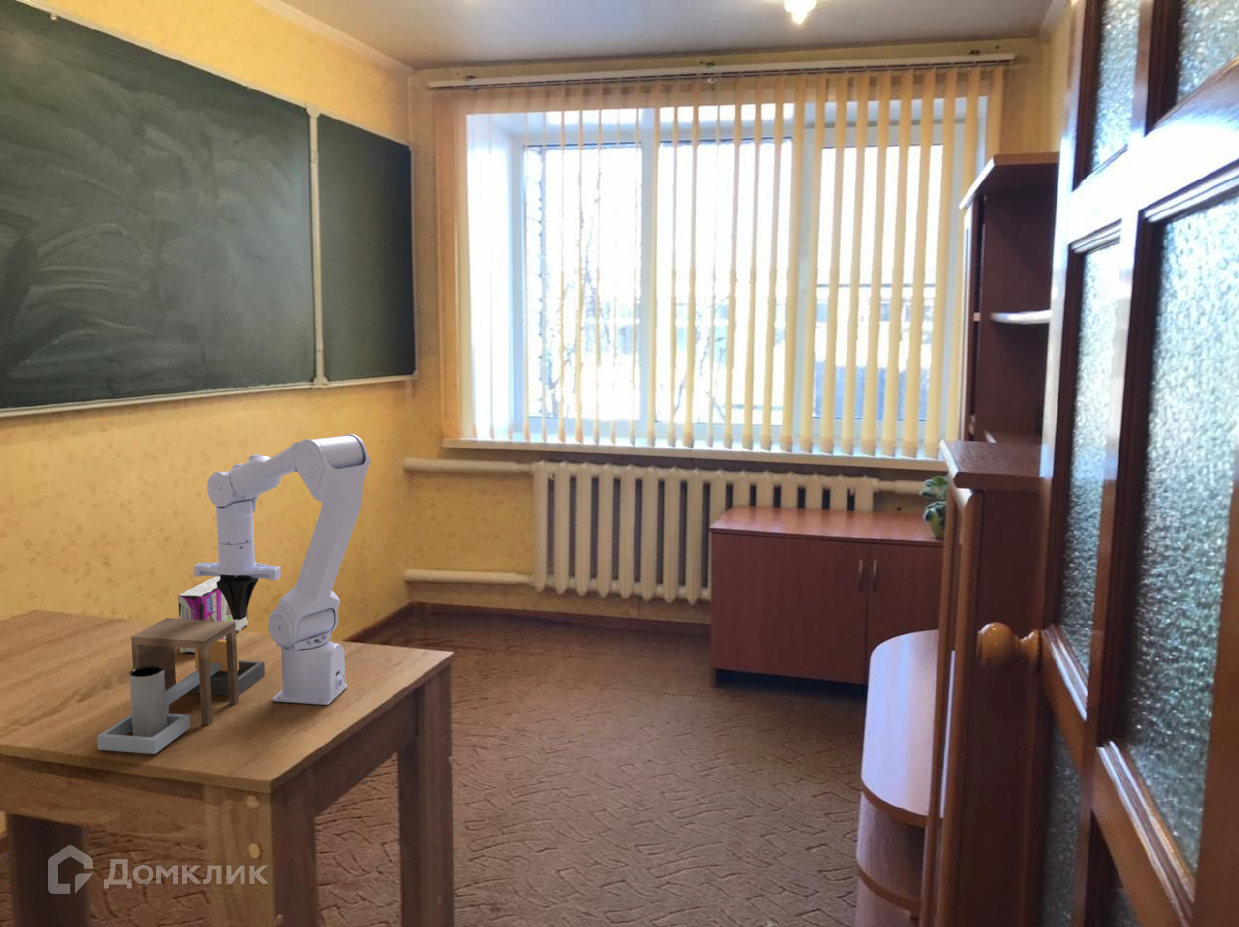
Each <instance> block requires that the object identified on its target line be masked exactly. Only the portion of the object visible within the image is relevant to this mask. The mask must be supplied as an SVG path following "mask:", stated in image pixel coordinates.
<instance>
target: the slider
mask: <svg viewBox="0 0 1239 927" xmlns="http://www.w3.org/2000/svg"><path fill="white" fill-rule="evenodd" d="M236 645H237V668H238V670H239V660H240V659H239V640H237V639H236ZM209 662H210V676H212V675H213V674H215V673H216V672H218V671H228V668H227V646H226V640H223V639H220V640H218V641H217V642H215V643H213V644H212V645H210V646H209ZM194 663H195V664H194V666H195V667H194V668H195V671H196V670H197V671H196V672H195V671H193V672H194V673H193V672H192V673H193V674H192V673H190V674H191V675H190V674H189V675H190V676H189V675H187V676H188V677H187V676H185V678H183V679H182V680H181V681H178V682H176V685H174V686H173V687H171V688H170V689H168V690H166V691H165V692H166V710H167V727H166V728H165V729H164V730H162V731H161V732H159V733H158V734H157V735H155V736H154V737H140V736H133V735H127V734H129V733H130V732H133V730H132V714H131V713H130V714H128V715H127V716H125V717H124V718H122V719H121V720H119V721H117V722H116V723H114V724H113V725H111V726H110V727H109V728H107V729H105V730H104V731H102V732H101V733H99V734H98V735H96V743H97V744H96V745H97V750H99V751H102V750H104V751H110V752H111V751H113V752H126V753H127V752H128V753H137V754H138V753H139V754H153V755H154V754H155V755H156V754H157V753H158V752H159V751H161V750H163V749H164V748H165V747H166V746H168V745H169V744H171V743H172V742H173V741H175V740H176V739H177V738H178V737H180V736H181V735H183V734H184V733H185V732H186V731H188V730H189V729H190V728H191V721H190V720H191V718H190V717H191V716H190V714H185V713H184V714H183V713H182V714H180V713H170V712H169V705H170V704H172V703H174V702H175V701H176V700H179V698H181V697H182V696H184V695H185V694H188V693H187V692H188V691H190V690H191V689H193V688H194V687H196V686H197V685H199V684H200V679H199V670H198V669H199V659H198V649H196V648H195V653H194Z"/></svg>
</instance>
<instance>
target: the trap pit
mask: <svg viewBox="0 0 1239 927" xmlns="http://www.w3.org/2000/svg"><path fill="white" fill-rule="evenodd" d="M265 669H266V668H265V661H262V660H261V661H259V660H258V661H257V660H246V659H245V660H242V659H239V670H238V691H239V696H240V695H242V694H243V693H244V692H245V691H246V690H248V689H249V688H250V687H252V686H254V684H256V683H257V682H259V681H260V680H261V679H263V678H264V677H265V676H266V670H265ZM197 670H199V669H195V671H193V672H192V673H190V674H189V675H187V676H186V677H188V676H190V675H191V674H193V673H194V672H196V671H197ZM210 682H211V695H219V696H229V691H228V671H218V672H216V673H215V674H213V675H212V676H210ZM188 693H190V694H200V684H199V685H197V686H196V687H194V688H193V689H191V690H190V691H188V692H187V693H186V694H188Z"/></svg>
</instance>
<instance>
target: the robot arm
mask: <svg viewBox="0 0 1239 927" xmlns="http://www.w3.org/2000/svg"><path fill="white" fill-rule="evenodd" d="M371 460H372V459H370V454H369V453H368V450H367V448H366V445H365V443H364V441H363V440H362V438H360V437H359V436H358V435H356V434H353V433H348V434H344V435H340V436H333V437H332V436H331V437H324V438H323V437H322V438H315V439H310V438H306V439H302V440H300V441H298V442H293V443H292V445H291V446H289V447H288V448H286V449H284V450H282V451H280V452H279V453H277V454H275V455H273V456H272V457H271V456H267V455H261V454H260V453H259V454H252V455H249V456H248V461H246V462H244V463H236V464H234V465H233V466H232V469H230V470H229V471H214V472H213V473H212V474H211V475H210V476H209V478H208V480H207V483H206V490H207V496H208V498H209V500H210V502H211V503H212V504H213V505H214V506H215V514H216V517H215V518H216V537H217V552H218V553H217V554H218V555H217V556H218V557H217V558H218V561H217V562H199V563H196V564H195V565H193V573H194V574H193V576H194V577H198V578H199V577H203V576H204V577H216V576H220V581H218V582H217V587H218V588H219V589H220V591H221V592H222V594H223V595H224V597H225V599H226V601H227V603H228V606H229V608H230V611H231V614H232V618H233V620H241V619H243V618H245V617H246V614H247V613H248V608H249V604H250V600H251V597H252V593H253V591H254V589H255V587H256V585H257V583H258V582H259V579H264V580H265V579H267V580H270V581H277V580H278V579H280V578H281V577H282V576H281V575H282V574H281V572H282V571H281V566H277V565H276V566H275V565H270V564H269V565H268V564H263V563H259V562H256V556H255V552H256V551H255V533H254V529H255V528H254V512H255V511H256V510H257V500H258V498H259V496H260V495H261V494H265V493H267V492H269V491H271V490H273V489H275V488H276V487H277V486H279V485H280V483H281V481H282V477H284V476H286V475H289V474H291V473H298V475H299V476H300V478H301V480H302V482H303V483H304V485H305V486H306V488H307V489H308V491H309V492H310V494H311V496H312V497H313V499H314V500H316V501H318V502H321V508H320V512H319V515H318V518H317V520H316V523H315V526H314V530H313V532H312V534H311V535H312V536H311V539H310V542H309V545H308V548H307V551H306V554H305V556H304V560H303V562H302V567H301V569H300V572H299V575H298V578H297V581H296V583H295V584H296V585H295V586H294V587H293V588H292V589H291V590H289V591H288V592H287V593H285V594H284V596H282V597H281V598H280V599H279V602H278V604H277V606H276V607H275V609H274V610H272V612H270V614H269V617H268V624H267V625H268V632H269V634H270V637H271V638H272V640H273V641H274V642H275V644H276V645H277V647H281V649H280V650H281V651H280V652H281V674H282V675H281V676H282V677H281V678H282V690H280V691H279V692H278V693H277V694H276V695H274V696H273V697H272V699H271V700H272V702H276V703H280V702H281V703H295V704H307V705H319V706H320V705H323V706H327V705H329V704H331V703H332V702H333V701H334V700H335V699H336V698H337V697H339V696H340V694H341V693H342V692H343V691H345V690H346V689H347V687H348V684H347V683H346V654H345V649H344V645H342V644H340V643H335V642H333V641H331V640H330V639H332V632H334V631H335V630H336V628H337V627H338V625H339V624H338V623H339V608H340V604H341V600H340V598H339V597H338V595H337V594H336V593H335V592H334V590H333V588H334V586H335V583H336V580H337V577H338V574H339V571H340V569H341V568H340V567H341V566H342V563H343V560H344V558H345V557H344V556H345V554H346V551H347V548H348V545H349V544H350V543H349V542H350V540H351V537H352V534H353V531H354V529H355V526H356V523H357V520H358V517H359V513H360V511H361V508H362V505H363V493H364V492H363V491H364V490H363V489H364V482H365V479H366V477H367V473H368V469H369V468H370V465H371Z"/></svg>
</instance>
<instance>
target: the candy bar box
mask: <svg viewBox="0 0 1239 927" xmlns="http://www.w3.org/2000/svg"><path fill="white" fill-rule="evenodd" d="M218 581H220V576H213V577H212V578H210V579H208V580H206V581H204V582H202V583H200V584H197V585H196V586H194V587H192V588H190V589H187V590H186V591H184V592H182V593H179V594H178V595H177V596H178V597H177V598H178V619H190V620H206V621H223V622H236V634H238V633H239V632H240V631H242V630H244V629H245V628H247V627H248V626H249V622H248V621H249V620H248V619H249V618H248V612H247V614H246V617H245V618H243V619H241V620H233V618H232V614H231V611H230V608H229V606H228V603H227V601H226V599H225V597H224V595H223V594H222V592H221V591H220V589H219V588H218V587H217V582H218ZM221 639H223V640H226V636H225V637H223V638H221ZM179 652H180V653H184V654H195V648H180V647H179Z"/></svg>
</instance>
